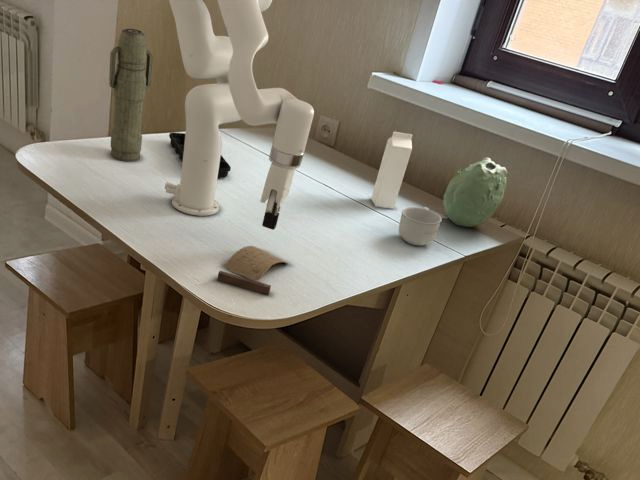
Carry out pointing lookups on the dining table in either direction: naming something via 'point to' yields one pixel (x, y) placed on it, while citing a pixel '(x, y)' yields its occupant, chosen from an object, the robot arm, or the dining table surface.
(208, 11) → the robot arm
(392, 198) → the milk
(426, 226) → the teacup
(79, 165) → the dining table surface
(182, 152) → the egg carton
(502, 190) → the green vase
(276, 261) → the brown curved bark
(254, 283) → the bar
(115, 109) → the thermos
